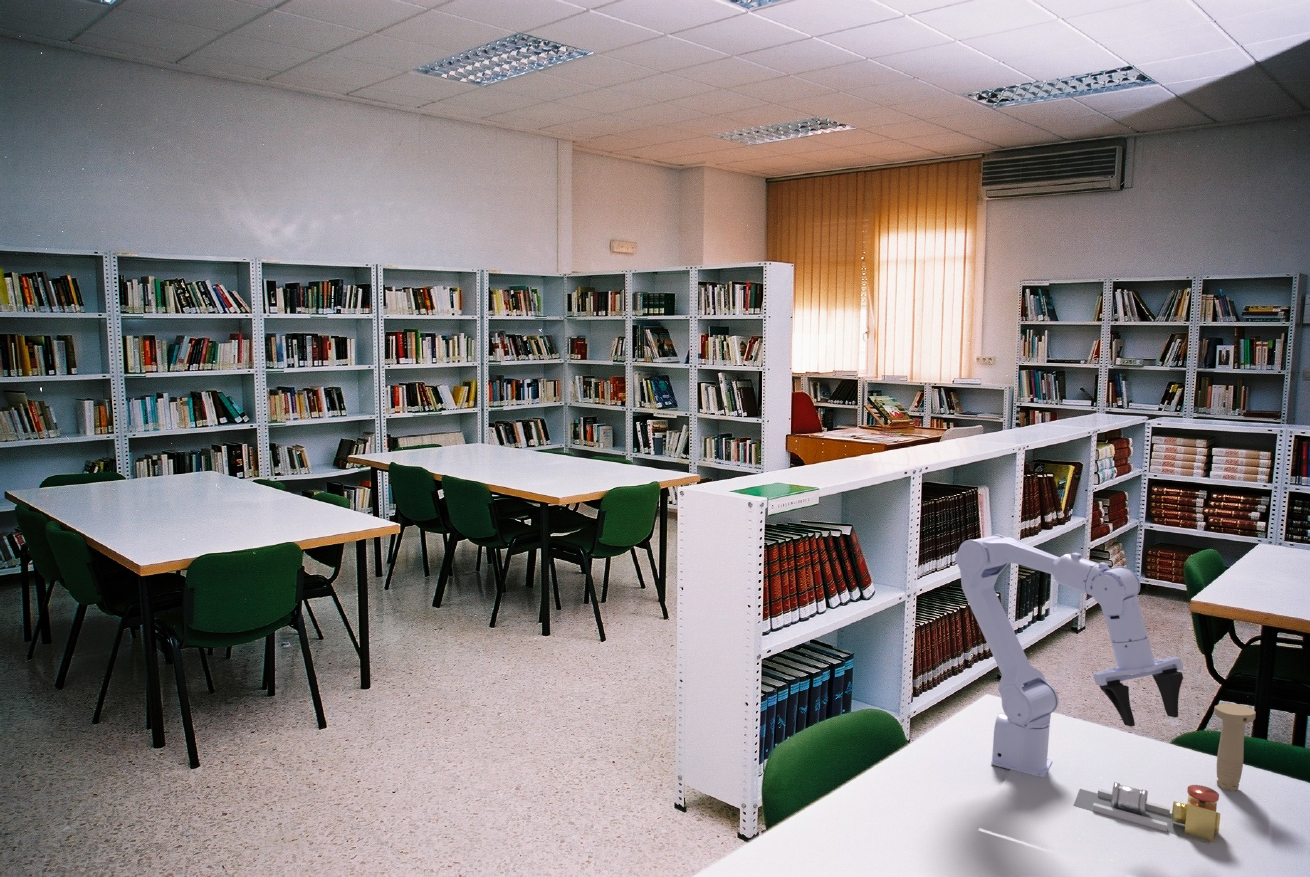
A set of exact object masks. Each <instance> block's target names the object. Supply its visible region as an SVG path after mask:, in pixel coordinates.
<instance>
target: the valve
mask: <svg viewBox="0 0 1310 877" xmlns="http://www.w3.org/2000/svg"><path fill="white" fill-rule="evenodd" d="M1186 789H1187V794H1188V796H1187V803H1182V802H1179V801H1175V800H1173V801H1172V802H1173V803H1172V809H1171V810H1172V811H1171V813H1172V821H1174V822H1177V823H1181V824H1185V833H1184V834H1186V835H1190V836H1193V837H1197V838H1200V839H1204V840H1208V841H1210V842H1212V843H1214V836H1215V834H1219V832H1220V824H1221V823H1220V822H1221V812H1217V804H1218V802H1219V799H1220V794H1219V793H1218V791H1216V790H1215V789H1213V788H1210V787H1208V786H1206V785H1200V784H1191V785H1188V786H1187V788H1186Z"/></svg>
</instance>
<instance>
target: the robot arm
mask: <svg viewBox="0 0 1310 877" xmlns="http://www.w3.org/2000/svg"><path fill="white" fill-rule="evenodd" d="M956 552H957V553H956V555H955V558H954V560H955V563H956V564H957V566H958V568H959V571H960V581H961V582H960V583H961V589H962V592H963V594H964V596H965V598H966V600H967V603H968V604H969V607H970V608H971V611H972V613H973V615H974V617H975V620H976V622H977V624H978V625H979V626H978V627H979V628H980V630H981V633H982V635H983V637H984V640H985V641H986V643H987V645H988V648H989V649H990V652H991V654H992V658H994V660H995V662H996V663H995V664H996V665H997V667H998V669H999V671H1000V673H1001V678H1000V681H999V683H998V687H997V690H998V692H999V694H1000V697H1001V707H1002V711H1003V713H1002V712H999V713H998V714H997V716H996V719H995V723H994V729H993V739H992V740H993V741H992V742H993V743H992V756H991V757H992V758H991V763H990V764H991V765H992V766H996V767H999V768H1004V769H1007V770H1013V771H1017V772H1021V773H1025V774H1028V775H1032V776H1035V777H1039V778H1043V779H1044V778H1045V777H1046V776H1047V774H1048V772H1049V769H1050V767H1051V765H1052V763H1053V760H1052V759H1050V758H1048V752H1049V739H1050V726H1051V719H1052V718H1051V716H1052V713H1054V712H1055V711H1056V710H1057V709H1058V707H1059V700H1060V699H1059V696H1058V692H1057V691H1056V689H1055V688H1054V687H1053V685H1051V683H1049V682H1048V681H1047V680H1046V677H1045V676H1044V674H1043V672H1042V671H1040V670H1039V669H1037V668H1036V667H1034V666H1032V665H1031V664H1030V662H1029V660H1028V658H1027V655H1026V653H1025V651H1024V649H1023V647H1022V645H1021V643H1020V641H1019V639H1018V637H1017V634H1016V632H1015V631H1014V628H1013V625H1012V624H1011V622H1010V619H1009V617H1008V615H1007V614H1006V612H1005V609H1004V607H1003V605H1002V603H1001V600H1000V598H999V597H998V594H997V593H996V592H997V591H996V590H995V585H996V582H997V580H998V577H999V575H1001V573H1002V572H1003V571H1004V570H1005V569H1006V567H1008V565H1009V564H1011V563H1013V564H1016V565H1020V566H1023V567H1026V568H1030V569H1033V570H1036V571H1039V572H1044V573H1046V574H1050V575H1053V576H1052V577H1054V580H1055V581H1056V583H1057V584H1059V585H1062V586H1065V587H1067V588H1070V589H1072V590H1074V591H1075V590H1076V591H1078V592H1081V593H1084V594H1087V595H1089V596H1091V597H1092V598H1093V599H1094V600H1095V602H1097V603H1098V604H1099V605H1100V608H1101V611H1102V613H1103V616H1104V619H1105V623H1106V627H1107V631H1108V636H1109V638H1110V644H1111V646H1112V649H1113V654H1114V657H1115V661H1116V666H1115V667H1112V668H1108V669H1105V670H1102V671H1097V672H1094V673H1093V672H1092V674H1093V675H1092V676H1093V680H1094V682H1095V685H1096V686H1099V688H1100V690H1101V691H1102V692H1103V693H1104V694H1105V695H1106V697H1107V698H1108V699H1109V701H1110V702H1111V703H1112V704H1113V706H1114V708H1115V709H1116V711H1117V713H1118V715H1119V716H1120V718H1121V720H1122V722H1123V724H1124V726H1127V727H1135V726H1136V724H1135V718H1134V714H1133V710H1132V708H1131V702H1130V688H1129V686H1128V685H1125V684H1124V683H1123V681H1129V680H1134V679H1138V678H1142V677H1143V678H1144V677H1147V676H1152V678H1153V680H1154V681H1155V683H1156V686H1157V689H1158V691H1159V693H1160V695H1161V700H1162V703H1163V704H1162V705H1163V707H1164V711H1165V713H1166V715H1167V716H1168V717H1170V718H1171V717H1172V718H1179V698H1180V696H1179V695H1180V691H1181V687H1182V682H1183V680H1184V675H1183V672H1182V671H1181V670H1184V665H1183V662H1182V659H1181V657H1175V656H1171V657H1166V658H1159V659H1155V658H1154V653H1153V650H1152V645H1151V643H1150V638H1149V637H1148V636H1149V635H1148V631H1147V628H1146V625H1145V620H1144V617H1143V613H1142V611H1141V610H1142V609H1141V607H1140V603H1139V599H1138V595H1139V593H1140V590H1141V582H1140V578H1139V577H1138V575H1137V574H1136V573H1135V572H1134V571H1133V570H1131V569H1129V568H1127V567H1126V566H1123V565H1118V566H1114V567H1112V568H1110V566H1109V564H1108V563H1106V562H1104V561H1103V562H1095V561H1092V560H1090V559H1086V558H1083V554H1081V553H1078V552H1076V551H1075V552H1072V553H1065V554H1064V555H1062V556H1060V557H1059V556H1056V555H1054V554H1052V553H1049V552H1047V551H1044V550H1042V549H1038V548H1036V547H1033V546H1032V545H1029V544H1027V543H1023V542H1021V541H1019V540H1017V539H1015V538H1013V537H1011V536H1010V537H1009V536H1004V535H1002V534H998V533H997V534H995V533H994V534H992V535H989V536H986V537H985V536H984V537H981V538H976V539H968V540H964V541H963V542H962V543H961V544H960V546H959V548H958V551H956Z"/></svg>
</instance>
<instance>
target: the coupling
mask: <svg viewBox="0 0 1310 877" xmlns="http://www.w3.org/2000/svg"><path fill="white" fill-rule="evenodd" d="M1112 786H1113V787H1112V791H1111V792H1112V800H1111V808H1115V809H1121V810H1124V811H1128V812H1132V813H1135V814H1139V815H1140V816H1144V817H1145V813H1146V806H1147V801H1148V793H1149V791H1148V790H1146V789H1143V788H1142V789H1139V788H1136V787H1135V788H1134V787H1132V786H1128V785H1123V784H1121V783H1120V782H1115V781H1114V783H1113V785H1112Z"/></svg>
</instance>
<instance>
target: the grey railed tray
mask: <svg viewBox="0 0 1310 877" xmlns="http://www.w3.org/2000/svg"><path fill="white" fill-rule="evenodd" d="M1111 800H1112V791H1109V790H1107V789H1102V788H1098V790H1097V792H1095V791H1091V790H1087V789H1082V788H1079V790H1078V793H1077V795H1076V798H1075V801H1074V803H1073V806H1074V807H1077V808H1081V809H1083V810H1087V811H1091V812H1095V813H1097V814H1101V815H1105V816H1109V817H1111V818H1116V819H1119V820H1123V821H1127V822H1131V823H1134V824H1137V825H1141V826H1144V827H1148V828H1151V829H1155V830H1157V831H1162V832H1165V833H1170V834H1173V835H1177V836H1180V837H1183V838H1187V839H1191V840H1194V841H1198V842H1202V843H1205V844H1209V845H1210V842H1211V841H1208V840H1204V839H1200V838H1197V837H1193V836H1190V835H1186V834H1184V833H1185V824H1181V823H1177V822H1174V821H1172V812H1171V807H1170V806H1166V805H1161V804H1158V803H1155V802H1151V801H1148V800H1147V806H1146V813H1145V817H1144V816H1140V815H1139V814H1135V813H1132V812H1128V811H1124V810H1121V809H1115V808H1111Z"/></svg>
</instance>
